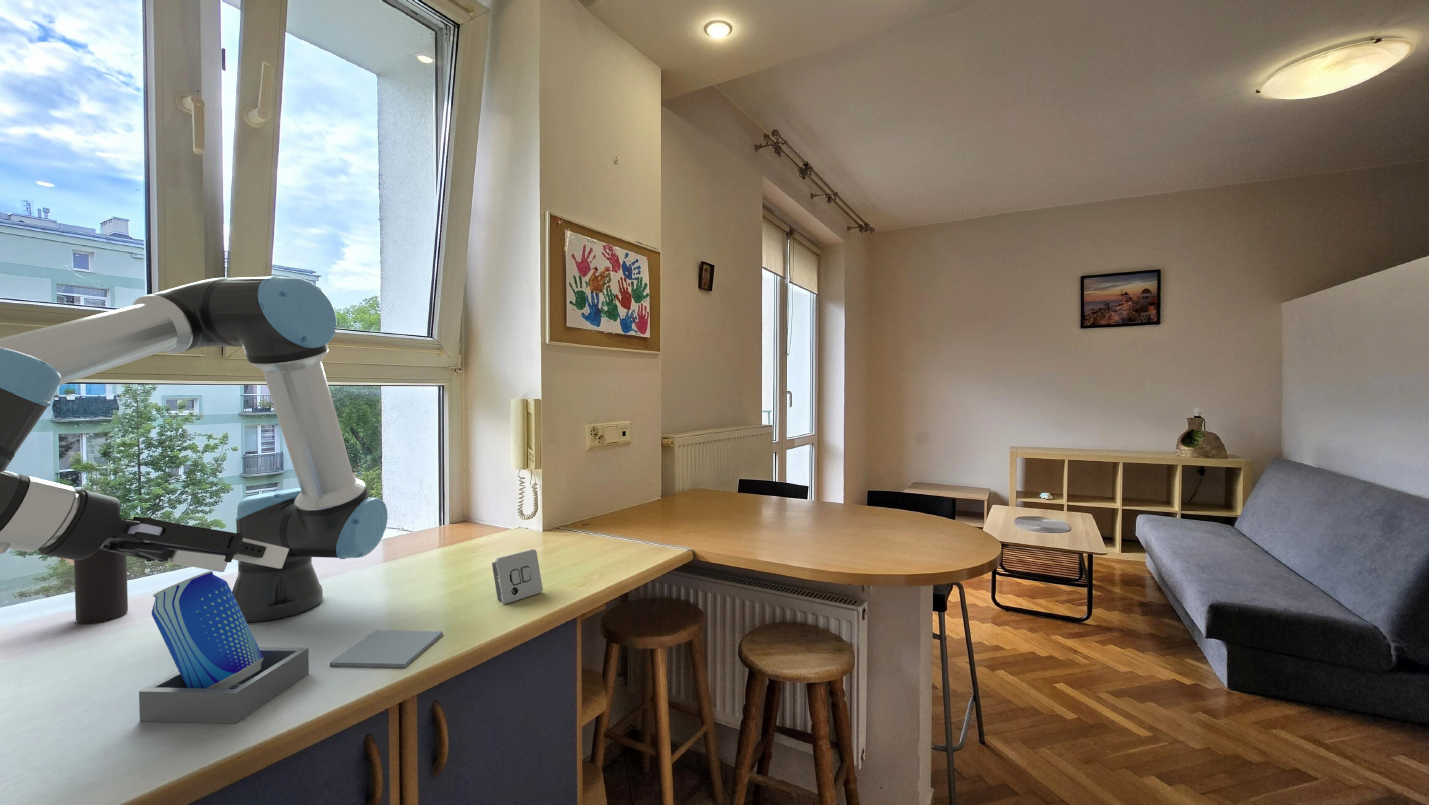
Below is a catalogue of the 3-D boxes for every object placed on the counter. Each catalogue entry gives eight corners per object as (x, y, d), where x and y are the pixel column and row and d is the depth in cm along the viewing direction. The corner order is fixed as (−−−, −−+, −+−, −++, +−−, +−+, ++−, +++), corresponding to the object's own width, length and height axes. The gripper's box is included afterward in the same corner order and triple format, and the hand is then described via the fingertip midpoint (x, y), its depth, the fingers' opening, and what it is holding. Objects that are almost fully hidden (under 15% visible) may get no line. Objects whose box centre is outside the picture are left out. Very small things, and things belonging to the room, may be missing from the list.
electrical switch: (503, 606, 116) (501, 559, 117) (490, 602, 120) (487, 557, 120) (543, 593, 124) (541, 549, 124) (529, 590, 127) (527, 547, 127)
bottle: (76, 617, 110) (73, 512, 109) (127, 607, 115) (124, 507, 114) (75, 627, 105) (72, 518, 104) (128, 617, 110) (126, 512, 109)
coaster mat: (329, 666, 91) (329, 662, 91) (376, 633, 103) (376, 630, 103) (404, 667, 91) (404, 663, 91) (442, 634, 103) (442, 631, 103)
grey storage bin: (139, 721, 76) (138, 691, 76) (226, 672, 89) (225, 646, 89) (236, 723, 76) (235, 693, 76) (308, 673, 89) (308, 648, 89)
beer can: (226, 684, 86) (180, 587, 86) (280, 658, 87) (234, 562, 87) (178, 712, 78) (126, 605, 78) (238, 684, 78) (187, 577, 78)
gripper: (-11, 558, 68) (192, 589, 86) (94, 548, 59) (299, 585, 76) (26, 497, 72) (215, 539, 89) (131, 478, 62) (320, 529, 79)
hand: (254, 560), depth 83 cm, fingers open, 13 cm apart
